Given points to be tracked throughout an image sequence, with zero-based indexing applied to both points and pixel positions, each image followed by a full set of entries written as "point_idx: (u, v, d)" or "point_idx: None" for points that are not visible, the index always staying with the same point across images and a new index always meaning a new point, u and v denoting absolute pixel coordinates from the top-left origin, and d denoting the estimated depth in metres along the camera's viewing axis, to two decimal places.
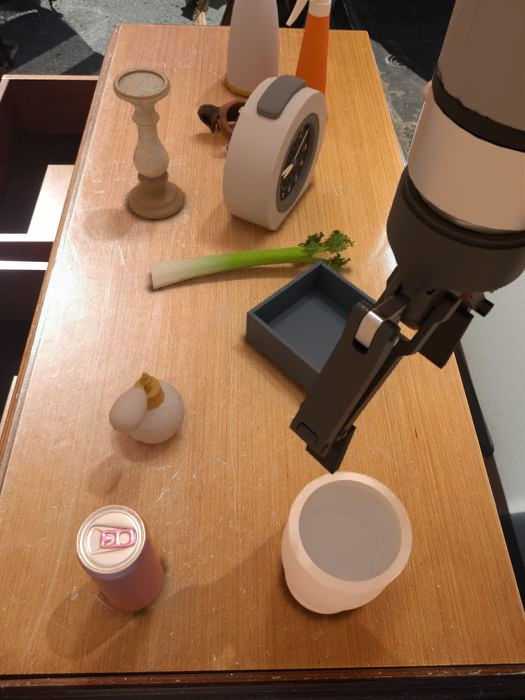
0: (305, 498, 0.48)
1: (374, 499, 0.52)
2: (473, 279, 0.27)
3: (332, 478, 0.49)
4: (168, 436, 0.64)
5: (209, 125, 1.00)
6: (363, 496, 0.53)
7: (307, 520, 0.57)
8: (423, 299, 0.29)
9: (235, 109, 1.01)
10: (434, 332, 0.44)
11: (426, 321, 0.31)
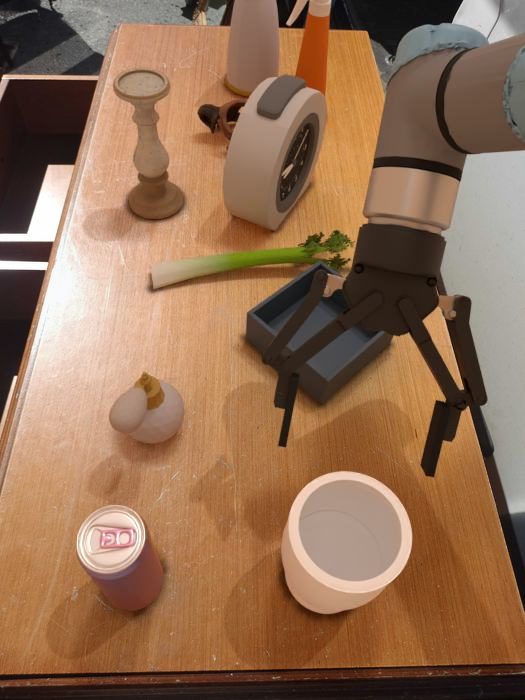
0: (305, 498, 0.48)
1: (374, 499, 0.52)
2: (368, 251, 0.46)
3: (332, 478, 0.49)
4: (168, 436, 0.64)
5: (209, 125, 1.00)
6: (363, 495, 0.53)
7: (307, 520, 0.57)
8: (352, 275, 0.48)
9: (235, 109, 1.01)
10: (429, 435, 0.52)
11: (358, 303, 0.48)
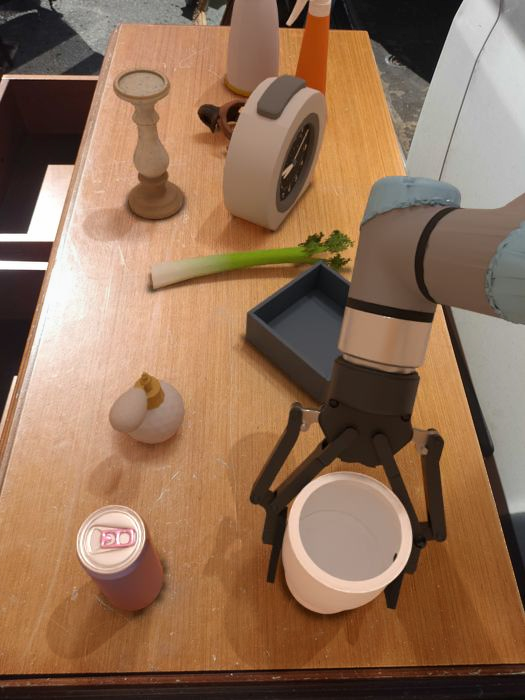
0: (305, 498, 0.48)
1: (374, 499, 0.52)
2: (342, 390, 0.47)
3: (332, 478, 0.49)
4: (168, 436, 0.64)
5: (209, 125, 1.00)
6: (363, 495, 0.53)
7: (307, 520, 0.57)
8: (327, 408, 0.49)
9: (235, 109, 1.01)
10: None
11: (334, 439, 0.49)
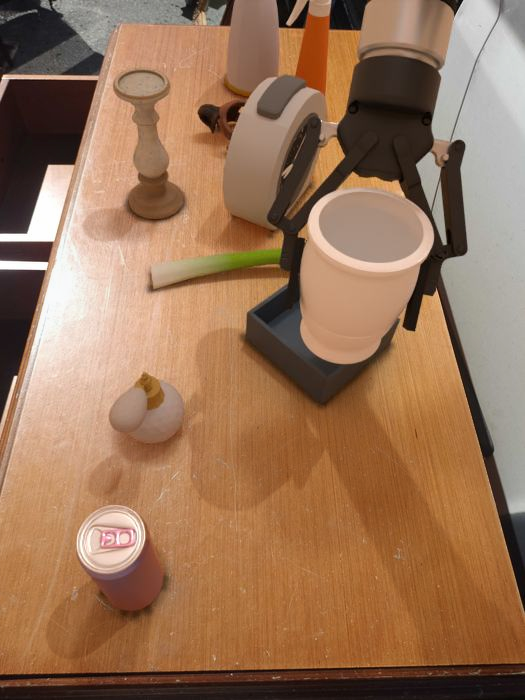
0: (325, 203, 0.47)
1: (393, 227, 0.52)
2: (363, 85, 0.46)
3: (351, 190, 0.49)
4: (168, 436, 0.64)
5: (209, 125, 1.00)
6: (382, 228, 0.53)
7: None
8: (346, 116, 0.48)
9: (235, 109, 1.01)
10: None
11: (353, 147, 0.48)
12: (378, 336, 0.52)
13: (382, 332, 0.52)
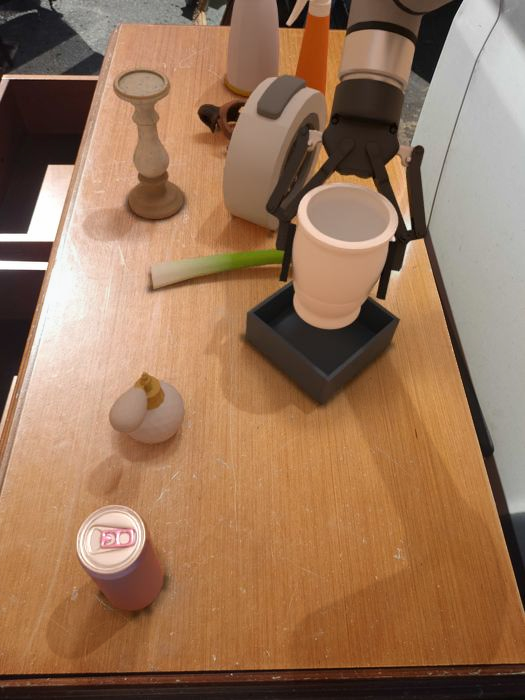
0: (311, 196, 0.59)
1: (368, 215, 0.63)
2: (342, 102, 0.58)
3: (333, 185, 0.61)
4: (168, 436, 0.64)
5: (209, 125, 1.00)
6: (359, 217, 0.64)
7: None
8: (329, 126, 0.60)
9: (235, 109, 1.01)
10: None
11: (335, 151, 0.60)
12: (356, 304, 0.64)
13: (359, 301, 0.64)
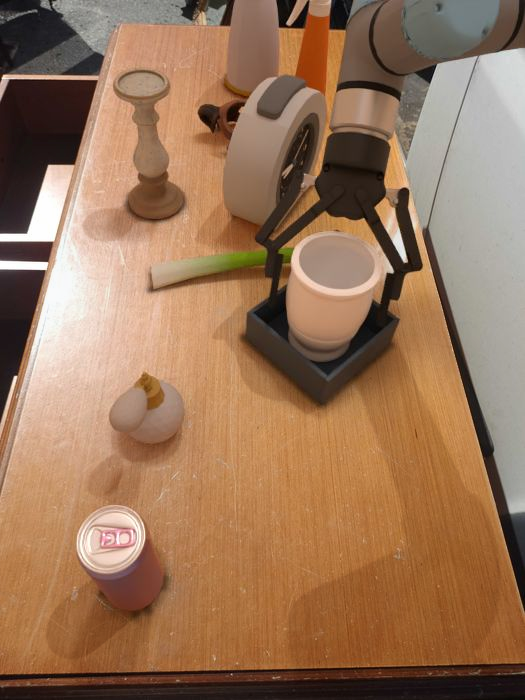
0: (304, 244, 0.65)
1: (356, 259, 0.69)
2: (332, 152, 0.63)
3: (324, 234, 0.66)
4: (168, 436, 0.64)
5: (209, 125, 1.00)
6: (348, 260, 0.70)
7: None
8: (321, 173, 0.65)
9: (235, 109, 1.01)
10: (381, 298, 0.68)
11: (326, 194, 0.65)
12: (345, 341, 0.70)
13: (348, 338, 0.70)
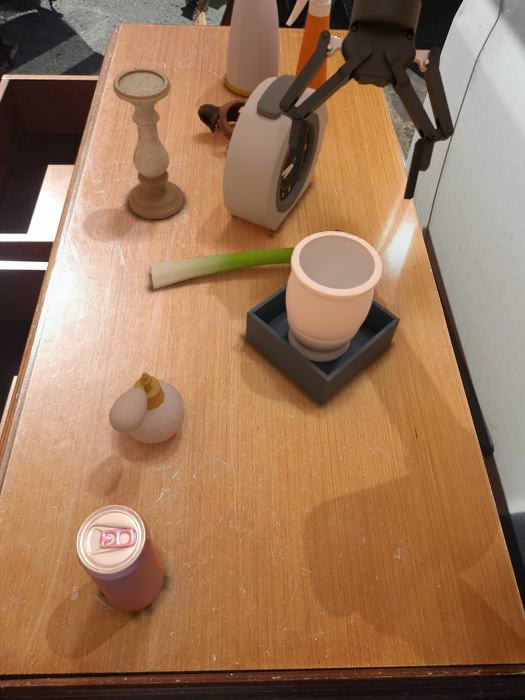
0: (304, 244, 0.65)
1: (356, 259, 0.69)
2: (361, 8, 0.61)
3: (324, 234, 0.67)
4: (168, 436, 0.64)
5: (209, 125, 1.00)
6: (348, 260, 0.70)
7: None
8: (349, 33, 0.63)
9: (235, 109, 1.01)
10: (410, 170, 0.66)
11: None
12: (345, 341, 0.70)
13: (348, 338, 0.70)
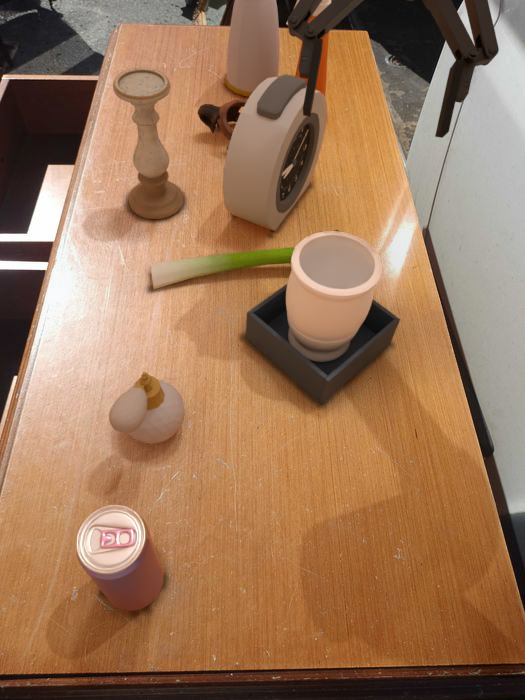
0: (304, 244, 0.65)
1: (356, 259, 0.69)
2: None
3: (324, 234, 0.67)
4: (168, 436, 0.64)
5: (209, 125, 1.00)
6: (348, 260, 0.70)
7: None
8: None
9: (235, 109, 1.01)
10: (444, 100, 0.55)
11: None
12: (345, 341, 0.70)
13: (348, 338, 0.70)
